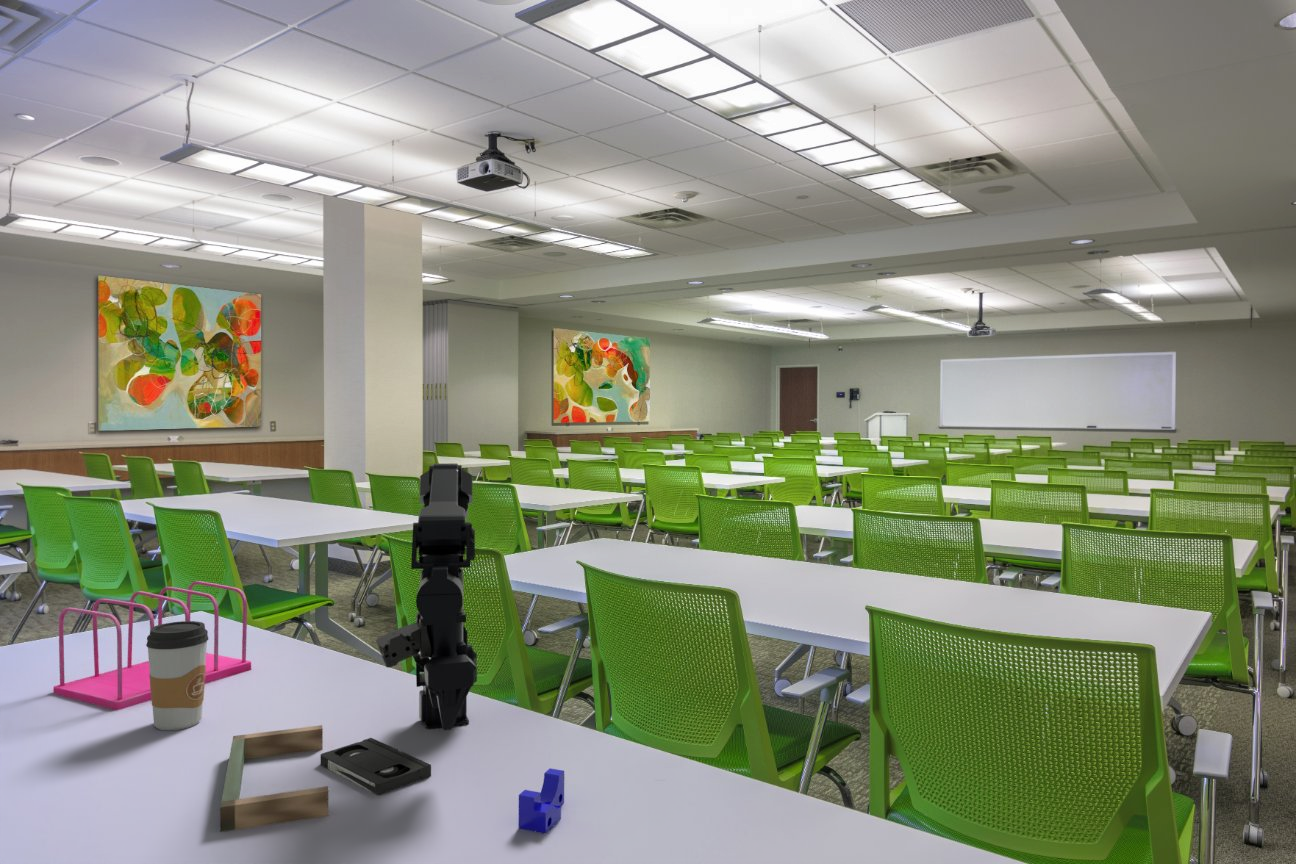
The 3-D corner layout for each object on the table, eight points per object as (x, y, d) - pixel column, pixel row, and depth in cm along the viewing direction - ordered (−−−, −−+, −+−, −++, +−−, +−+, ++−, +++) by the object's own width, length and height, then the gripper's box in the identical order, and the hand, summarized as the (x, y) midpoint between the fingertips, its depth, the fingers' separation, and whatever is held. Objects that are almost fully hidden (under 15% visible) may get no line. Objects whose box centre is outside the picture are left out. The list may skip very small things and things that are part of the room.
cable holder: (545, 834, 99) (545, 799, 99) (518, 829, 100) (518, 794, 100) (575, 804, 106) (575, 772, 106) (549, 800, 108) (549, 768, 108)
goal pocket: (322, 745, 124) (322, 725, 124) (328, 816, 102) (328, 791, 102) (233, 757, 119) (233, 735, 119) (220, 833, 98) (220, 807, 98)
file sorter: (252, 671, 159) (252, 586, 159) (117, 713, 136) (116, 614, 136) (189, 658, 167) (189, 577, 166) (52, 696, 144) (51, 603, 144)
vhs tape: (319, 768, 117) (319, 754, 117) (371, 751, 123) (371, 737, 123) (378, 799, 108) (378, 783, 108) (431, 779, 114) (431, 764, 114)
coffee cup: (182, 737, 126) (181, 635, 126) (133, 732, 128) (132, 632, 128) (221, 717, 135) (220, 621, 134) (174, 713, 136) (174, 618, 136)
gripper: (374, 595, 124) (374, 703, 124) (387, 626, 107) (387, 751, 107) (452, 590, 128) (452, 694, 128) (477, 619, 111) (477, 739, 111)
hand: (441, 718), depth 119 cm, fingers open, 9 cm apart
